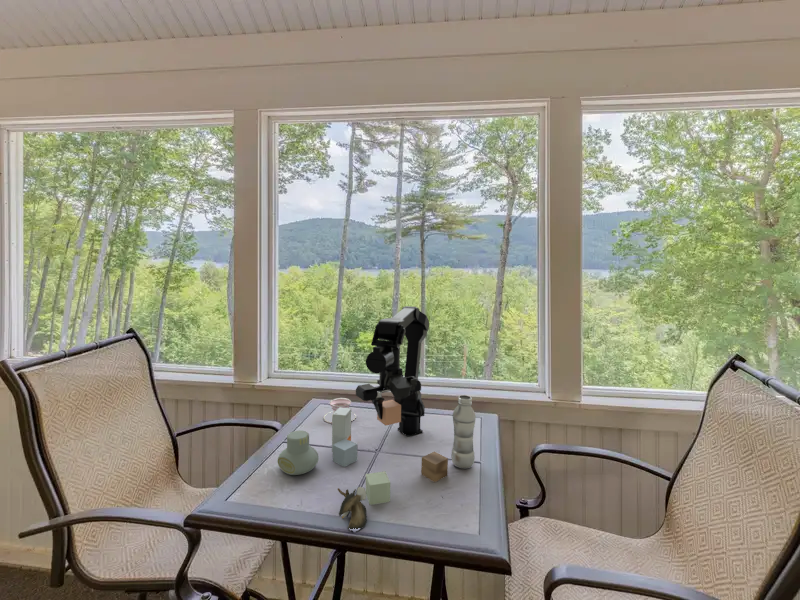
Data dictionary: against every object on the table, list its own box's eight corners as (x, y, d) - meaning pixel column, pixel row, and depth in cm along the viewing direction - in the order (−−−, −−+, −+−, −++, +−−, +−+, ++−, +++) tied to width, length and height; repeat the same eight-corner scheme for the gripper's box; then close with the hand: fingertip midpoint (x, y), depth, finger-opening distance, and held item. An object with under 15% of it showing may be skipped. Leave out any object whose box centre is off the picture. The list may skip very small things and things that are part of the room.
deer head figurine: (328, 504, 89) (330, 522, 80) (344, 475, 91) (348, 491, 82) (355, 519, 90) (361, 539, 82) (371, 490, 92) (378, 507, 83)
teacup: (353, 425, 135) (354, 408, 135) (320, 424, 136) (320, 407, 135) (358, 412, 147) (358, 396, 147) (327, 411, 148) (327, 395, 147)
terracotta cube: (392, 415, 114) (392, 399, 113) (400, 422, 110) (401, 405, 109) (377, 419, 111) (377, 402, 111) (385, 425, 107) (385, 408, 107)
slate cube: (345, 454, 115) (345, 438, 114) (357, 460, 111) (357, 443, 111) (332, 461, 111) (332, 444, 110) (344, 467, 108) (344, 450, 107)
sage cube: (384, 490, 97) (385, 471, 97) (390, 501, 92) (390, 482, 92) (365, 493, 96) (365, 474, 95) (369, 505, 91) (369, 485, 91)
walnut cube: (433, 468, 108) (434, 451, 107) (447, 475, 104) (447, 458, 104) (421, 474, 105) (421, 457, 104) (434, 482, 101) (435, 464, 100)
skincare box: (345, 454, 115) (345, 415, 114) (331, 452, 116) (331, 414, 114) (351, 444, 121) (351, 408, 119) (338, 443, 121) (338, 406, 120)
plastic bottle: (460, 473, 105) (463, 403, 103) (446, 462, 111) (448, 395, 109) (479, 468, 108) (481, 399, 106) (464, 457, 114) (466, 392, 112)
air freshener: (273, 469, 106) (272, 434, 105) (296, 457, 112) (296, 424, 112) (300, 483, 100) (299, 446, 99) (323, 469, 106) (323, 434, 105)
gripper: (373, 376, 97) (372, 435, 99) (433, 366, 107) (431, 420, 108) (355, 365, 107) (354, 419, 108) (411, 357, 116) (410, 407, 118)
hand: (388, 417), depth 110 cm, fingers closed on terracotta cube, 5 cm apart
